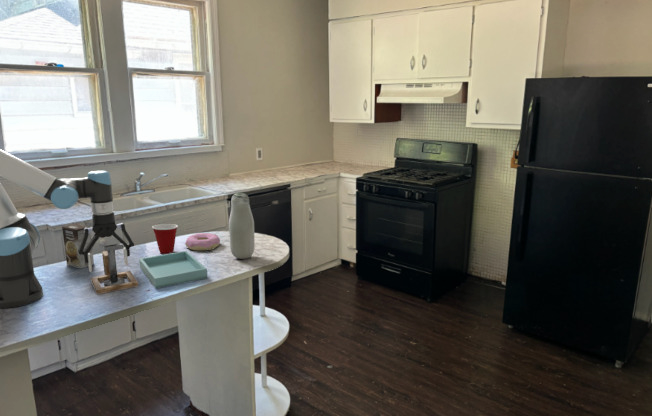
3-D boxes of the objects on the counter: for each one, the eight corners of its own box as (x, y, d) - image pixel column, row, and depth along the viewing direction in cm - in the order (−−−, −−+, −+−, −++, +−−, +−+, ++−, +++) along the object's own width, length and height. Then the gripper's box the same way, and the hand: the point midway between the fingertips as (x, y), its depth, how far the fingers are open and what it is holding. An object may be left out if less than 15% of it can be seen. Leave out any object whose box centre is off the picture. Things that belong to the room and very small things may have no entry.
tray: (155, 288, 171) (154, 278, 170) (139, 267, 191) (139, 258, 190) (207, 278, 181) (206, 268, 180) (187, 259, 201) (186, 250, 200)
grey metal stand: (105, 289, 170) (101, 249, 167) (102, 282, 176) (98, 244, 172) (128, 284, 174) (124, 246, 171) (124, 278, 180) (120, 241, 176)
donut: (197, 254, 208) (196, 243, 207) (179, 246, 218) (178, 236, 217) (227, 247, 219) (226, 236, 217) (208, 240, 229) (208, 229, 228)
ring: (97, 294, 166) (94, 269, 164) (89, 276, 182) (86, 253, 180) (138, 286, 173) (136, 262, 171) (127, 269, 189) (125, 247, 187)
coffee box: (65, 265, 194) (61, 226, 190) (80, 260, 199) (76, 222, 195) (80, 268, 189) (76, 229, 186) (95, 264, 195) (90, 225, 191)
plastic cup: (183, 248, 215) (182, 222, 213) (173, 256, 205) (172, 229, 202) (160, 247, 216) (158, 221, 214) (149, 255, 206) (147, 228, 203)
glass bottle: (258, 255, 207) (256, 191, 201) (248, 262, 197) (246, 196, 191) (236, 253, 209) (234, 190, 203) (226, 260, 200) (223, 195, 193)
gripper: (67, 219, 168) (74, 276, 173) (139, 210, 181) (144, 264, 186) (65, 214, 175) (72, 270, 180) (135, 206, 187) (139, 259, 192)
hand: (108, 267), depth 183 cm, fingers open, 12 cm apart
